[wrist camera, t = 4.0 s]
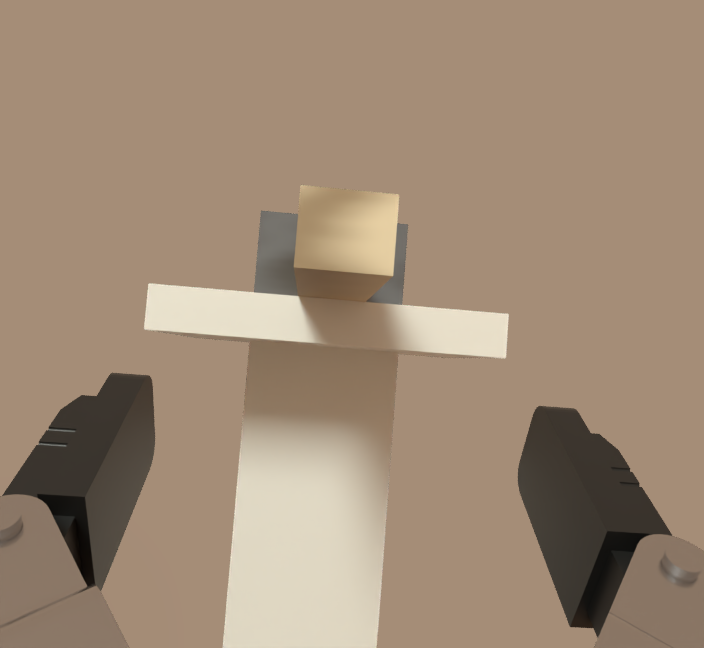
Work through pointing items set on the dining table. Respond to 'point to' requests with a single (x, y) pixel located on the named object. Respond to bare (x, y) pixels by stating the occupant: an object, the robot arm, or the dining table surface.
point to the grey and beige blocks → (334, 247)
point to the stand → (315, 449)
